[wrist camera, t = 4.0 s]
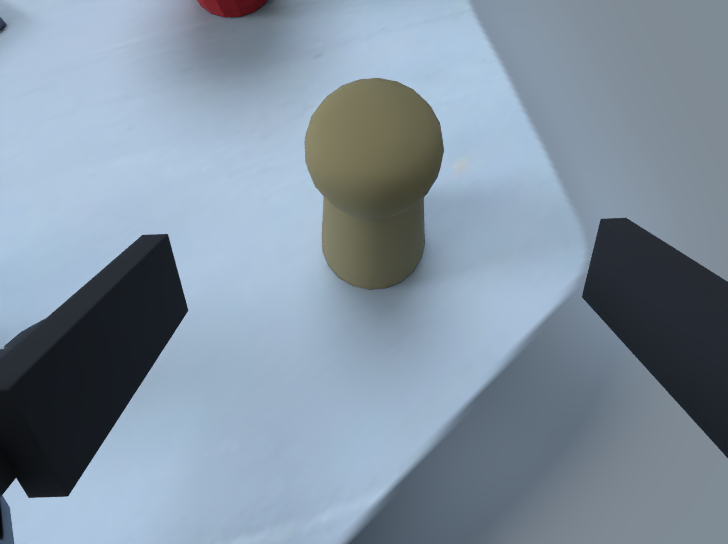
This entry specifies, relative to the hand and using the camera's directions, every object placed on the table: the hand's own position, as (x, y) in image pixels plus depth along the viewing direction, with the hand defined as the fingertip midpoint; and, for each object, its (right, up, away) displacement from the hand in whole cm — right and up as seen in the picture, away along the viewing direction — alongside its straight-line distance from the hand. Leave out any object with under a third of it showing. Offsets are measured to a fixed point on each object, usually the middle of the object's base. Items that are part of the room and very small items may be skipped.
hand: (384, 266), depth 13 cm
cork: (0, +2, +12) cm, 12 cm away
